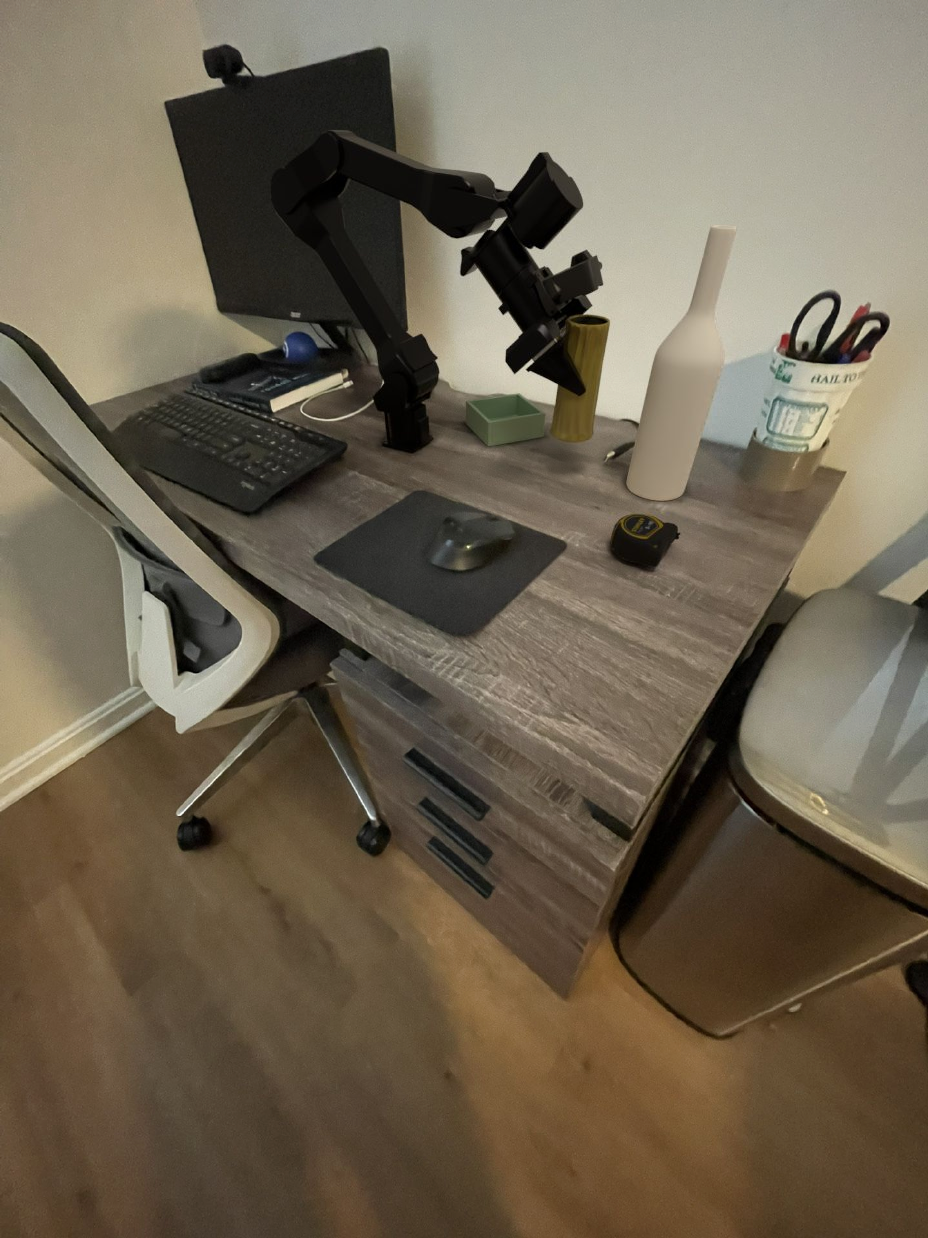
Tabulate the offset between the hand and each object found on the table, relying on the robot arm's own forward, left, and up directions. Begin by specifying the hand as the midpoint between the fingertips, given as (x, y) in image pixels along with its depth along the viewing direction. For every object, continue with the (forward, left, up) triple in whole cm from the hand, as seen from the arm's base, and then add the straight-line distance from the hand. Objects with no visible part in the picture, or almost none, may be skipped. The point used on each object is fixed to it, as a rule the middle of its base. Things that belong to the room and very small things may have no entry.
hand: (588, 386), depth 68 cm
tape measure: (+14, -14, -13) cm, 24 cm away
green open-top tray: (-17, +11, -13) cm, 24 cm away
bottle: (+11, +3, -13) cm, 17 cm away
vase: (-1, 0, -7) cm, 7 cm away
